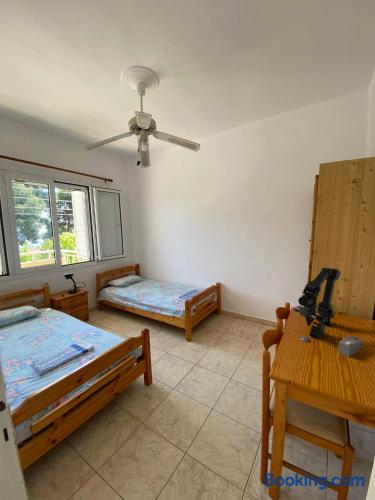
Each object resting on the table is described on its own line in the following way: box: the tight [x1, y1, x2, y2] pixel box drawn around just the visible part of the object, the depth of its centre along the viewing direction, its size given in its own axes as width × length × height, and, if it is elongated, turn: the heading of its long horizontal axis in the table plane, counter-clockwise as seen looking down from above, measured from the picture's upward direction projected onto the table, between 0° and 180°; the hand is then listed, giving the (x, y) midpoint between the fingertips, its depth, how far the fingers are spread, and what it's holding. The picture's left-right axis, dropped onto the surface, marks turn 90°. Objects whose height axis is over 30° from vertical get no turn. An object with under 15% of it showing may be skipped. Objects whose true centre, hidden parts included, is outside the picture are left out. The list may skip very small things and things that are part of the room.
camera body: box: [337, 335, 362, 358], centre depth 114 cm, size 13×6×7 cm, turn 118°
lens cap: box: [299, 335, 311, 343], centre depth 125 cm, size 5×5×1 cm
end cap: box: [308, 321, 326, 340], centre depth 129 cm, size 10×7×7 cm
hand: (308, 326), depth 133 cm, fingers closed
